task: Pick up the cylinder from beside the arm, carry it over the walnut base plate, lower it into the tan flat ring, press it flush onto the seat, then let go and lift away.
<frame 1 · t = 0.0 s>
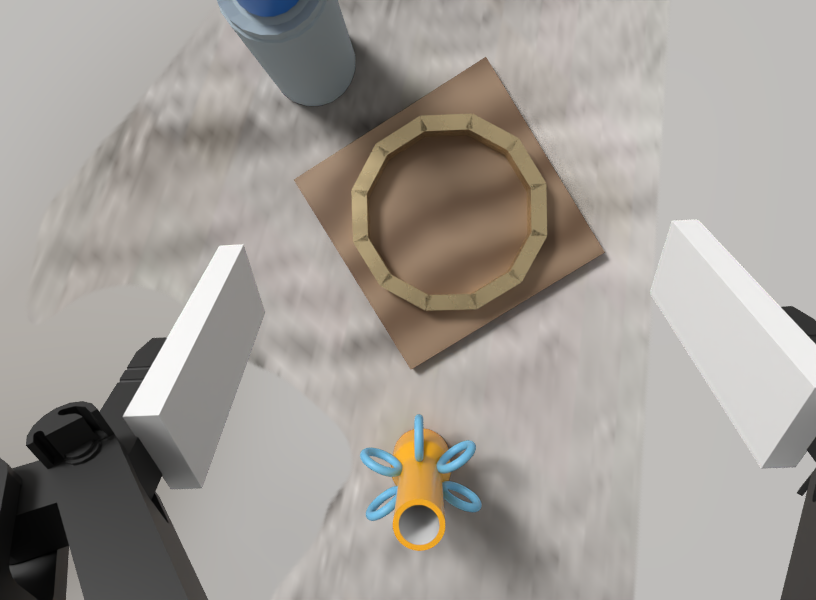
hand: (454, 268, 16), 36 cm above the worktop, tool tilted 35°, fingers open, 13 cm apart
cylinder: (421, 453, 53), on the worktop
seat plate: (447, 217, 51), on the worktop
spray bottle: (313, 63, 51), on the worktop
tan flat ring: (448, 214, 49), on the seat plate, point 2 cm above the worktop
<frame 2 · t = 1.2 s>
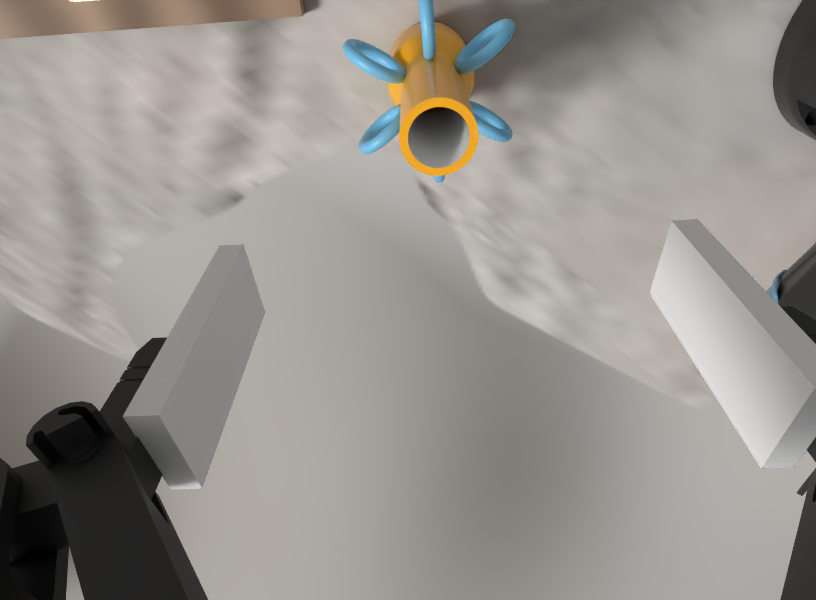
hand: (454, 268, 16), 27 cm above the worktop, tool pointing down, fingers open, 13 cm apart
cylinder: (428, 65, 37), on the worktop
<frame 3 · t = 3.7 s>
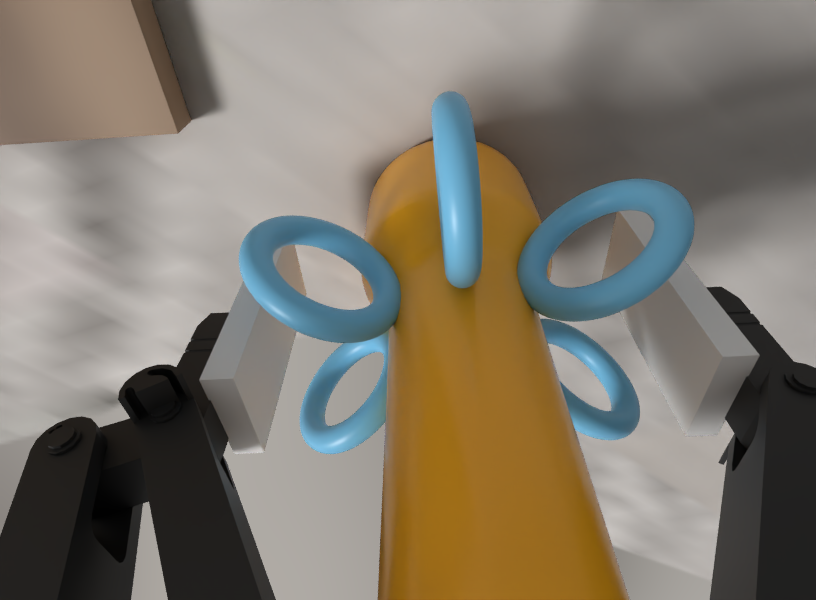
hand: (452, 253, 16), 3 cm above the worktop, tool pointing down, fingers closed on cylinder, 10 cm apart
cylinder: (446, 210, 19), on the worktop, touching gripper
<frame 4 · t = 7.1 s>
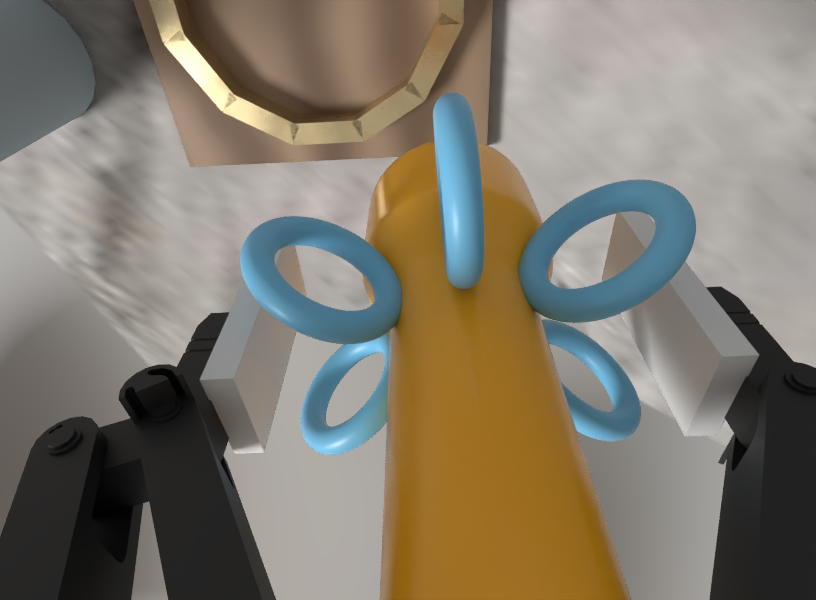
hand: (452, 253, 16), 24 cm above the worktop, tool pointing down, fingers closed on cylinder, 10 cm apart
cylinder: (446, 210, 19), point 21 cm above the worktop, touching gripper
spray bottle: (30, 58, 35), on the worktop
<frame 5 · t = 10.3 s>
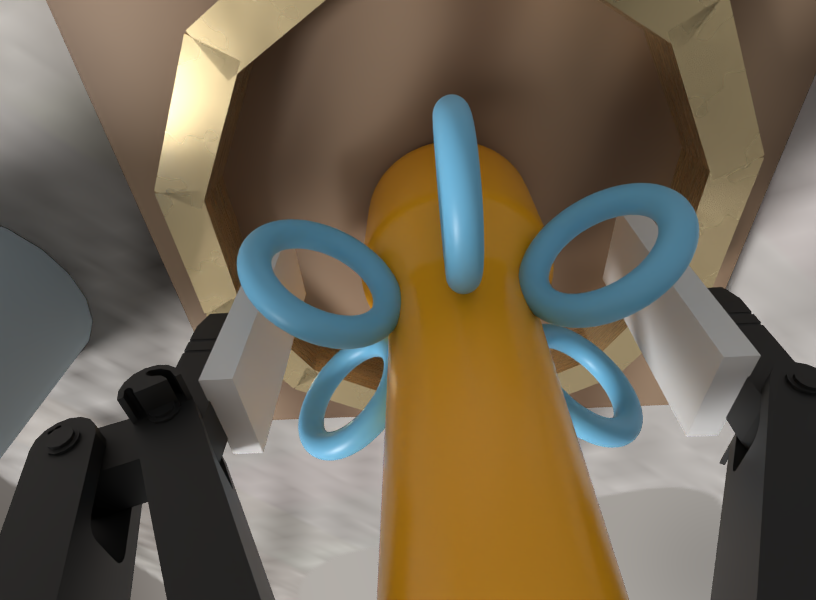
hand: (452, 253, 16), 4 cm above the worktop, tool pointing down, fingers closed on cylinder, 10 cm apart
cylinder: (446, 213, 19), point 1 cm above the worktop, touching gripper, seat plate
seat plate: (446, 201, 19), on the worktop
tan flat ring: (450, 229, 18), on the seat plate, point 2 cm above the worktop
when the fingers open (4 cm above the worktop, at t = 11.7 s): cylinder stays where it is, resting on seat plate.
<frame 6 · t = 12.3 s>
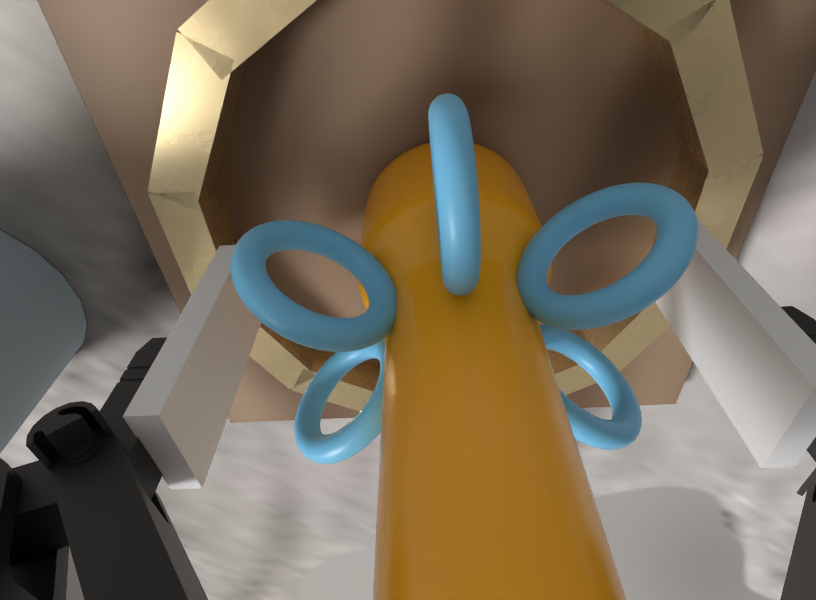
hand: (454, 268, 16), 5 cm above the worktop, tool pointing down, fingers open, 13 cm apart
cylinder: (443, 212, 18), point 1 cm above the worktop, touching seat plate
seat plate: (443, 201, 19), on the worktop
tan flat ring: (447, 229, 17), on the seat plate, point 2 cm above the worktop
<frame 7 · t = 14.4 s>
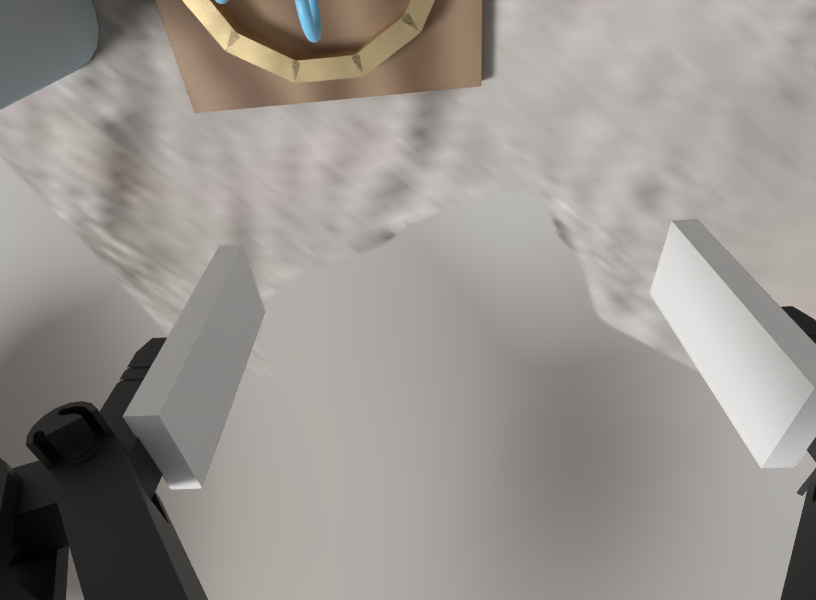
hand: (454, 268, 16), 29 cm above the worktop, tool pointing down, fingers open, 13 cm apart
spray bottle: (34, 7, 36), on the worktop
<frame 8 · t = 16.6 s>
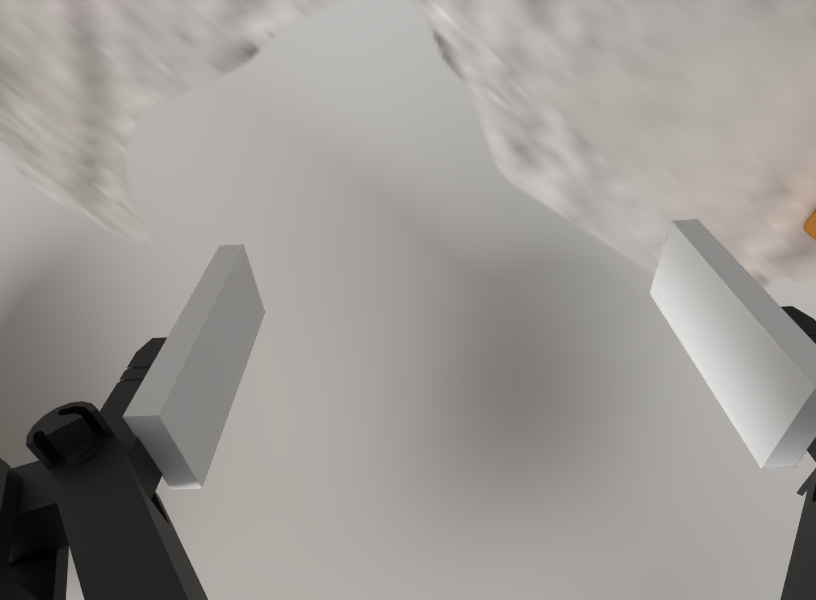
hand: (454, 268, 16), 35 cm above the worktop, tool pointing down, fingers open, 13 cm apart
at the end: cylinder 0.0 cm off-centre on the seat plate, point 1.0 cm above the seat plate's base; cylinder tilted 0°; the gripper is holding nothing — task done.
